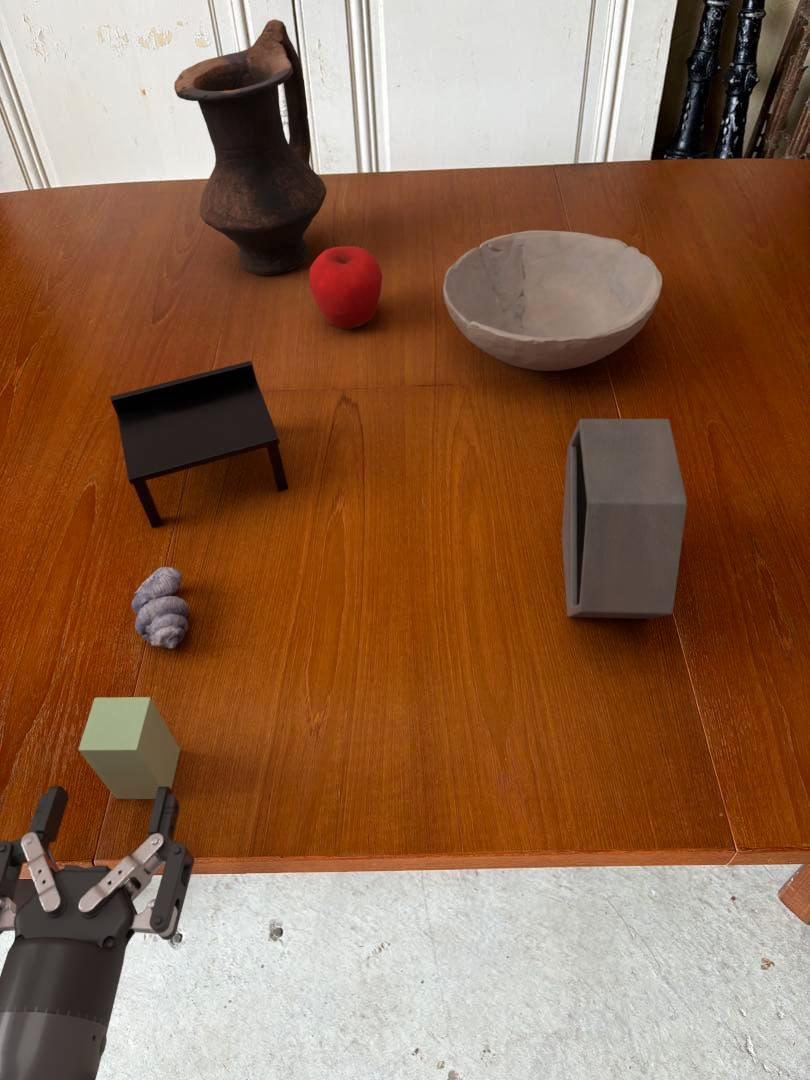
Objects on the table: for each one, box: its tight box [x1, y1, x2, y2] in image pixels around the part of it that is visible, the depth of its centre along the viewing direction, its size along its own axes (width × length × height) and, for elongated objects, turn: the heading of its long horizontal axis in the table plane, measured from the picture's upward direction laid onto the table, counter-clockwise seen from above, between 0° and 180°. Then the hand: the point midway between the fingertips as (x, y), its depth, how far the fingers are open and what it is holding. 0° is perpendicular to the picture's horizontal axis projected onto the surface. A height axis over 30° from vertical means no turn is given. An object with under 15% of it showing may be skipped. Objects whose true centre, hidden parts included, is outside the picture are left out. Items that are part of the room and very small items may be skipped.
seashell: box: [131, 566, 190, 650], centre depth 79 cm, size 5×5×10 cm
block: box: [78, 696, 181, 800], centre depth 67 cm, size 5×5×9 cm
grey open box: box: [561, 418, 688, 620], centre depth 74 cm, size 17×8×21 cm
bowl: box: [442, 229, 663, 372], centre depth 104 cm, size 26×26×10 cm
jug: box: [173, 18, 327, 276], centre depth 115 cm, size 21×18×30 cm
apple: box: [308, 245, 383, 330], centre depth 110 cm, size 10×10×11 cm
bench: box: [109, 360, 289, 529], centre depth 91 cm, size 16×12×10 cm
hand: (113, 789), depth 63 cm, fingers open, 8 cm apart
